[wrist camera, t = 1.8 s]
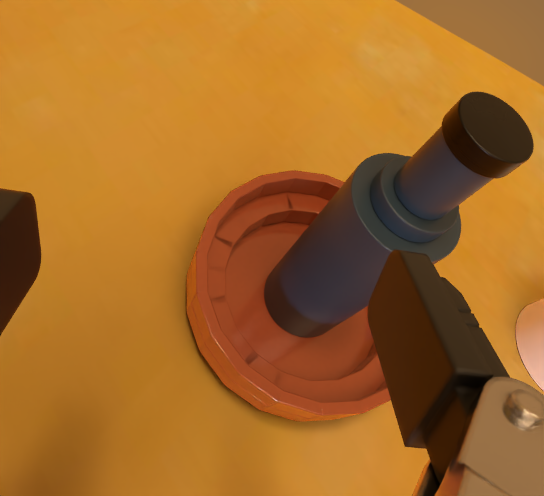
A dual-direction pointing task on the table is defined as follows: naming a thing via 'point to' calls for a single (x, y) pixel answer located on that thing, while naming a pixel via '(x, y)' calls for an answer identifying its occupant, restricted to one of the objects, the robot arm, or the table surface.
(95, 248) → the table surface
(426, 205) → the flask
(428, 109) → the table surface
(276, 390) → the bowl
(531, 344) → the cylinder with rectangular tab
